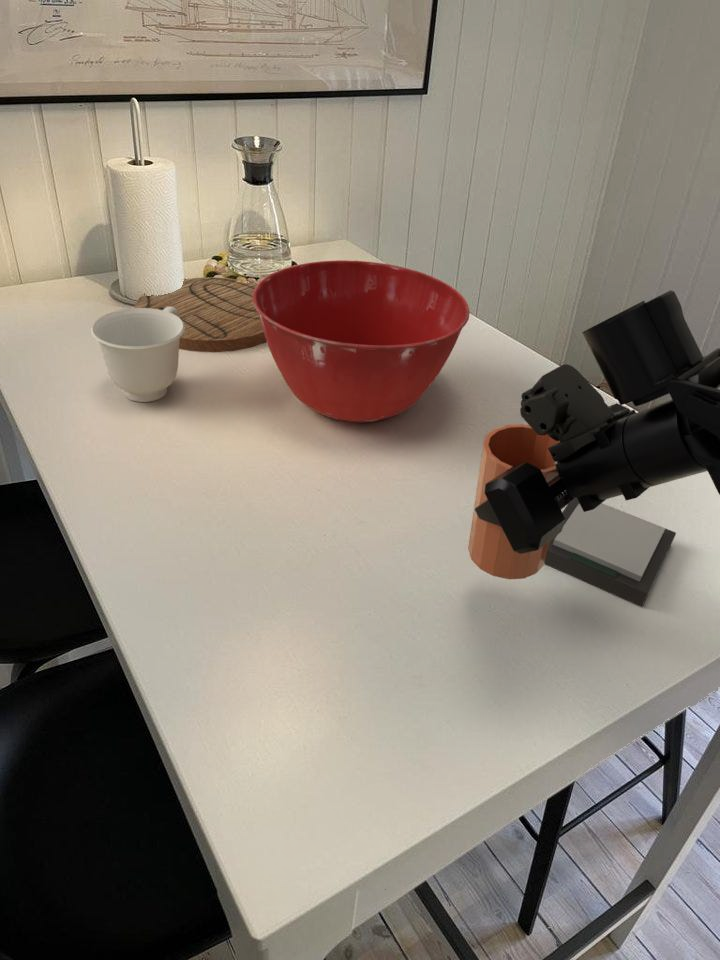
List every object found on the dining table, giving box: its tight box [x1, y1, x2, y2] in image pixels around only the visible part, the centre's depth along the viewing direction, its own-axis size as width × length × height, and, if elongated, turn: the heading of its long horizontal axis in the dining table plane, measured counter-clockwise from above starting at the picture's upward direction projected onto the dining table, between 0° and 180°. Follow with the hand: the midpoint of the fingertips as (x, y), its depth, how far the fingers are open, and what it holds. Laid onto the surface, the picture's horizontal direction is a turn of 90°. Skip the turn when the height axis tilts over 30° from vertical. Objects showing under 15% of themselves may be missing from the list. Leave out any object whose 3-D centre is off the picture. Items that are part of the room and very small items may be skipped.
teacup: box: [90, 307, 185, 403], centre depth 104 cm, size 12×15×10 cm
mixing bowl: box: [253, 259, 470, 424], centre depth 104 cm, size 28×28×16 cm
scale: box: [544, 498, 677, 608], centre depth 84 cm, size 12×12×3 cm
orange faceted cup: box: [467, 423, 560, 580], centre depth 69 cm, size 7×7×13 cm
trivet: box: [134, 276, 267, 353], centre depth 126 cm, size 25×25×2 cm
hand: (503, 495), depth 70 cm, fingers closed on orange faceted cup, 7 cm apart
